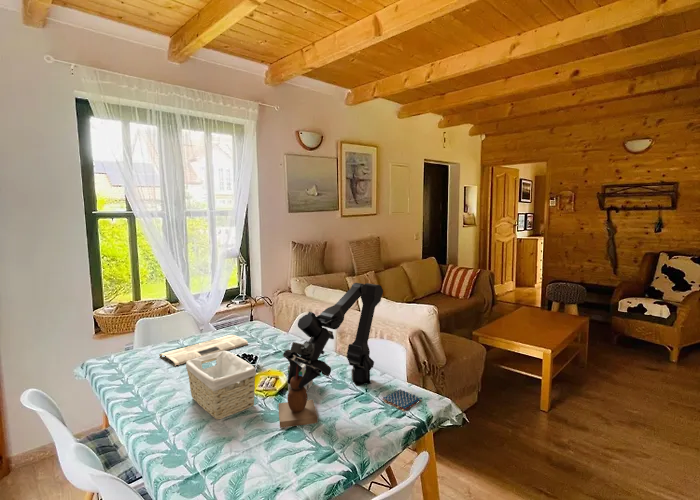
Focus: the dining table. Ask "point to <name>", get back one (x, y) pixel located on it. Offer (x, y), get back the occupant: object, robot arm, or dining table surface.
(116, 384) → the dining table surface
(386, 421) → the dining table surface
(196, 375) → the storage basket
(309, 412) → the light brown wooden stand
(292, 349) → the robot arm
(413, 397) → the woven mat
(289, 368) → the light bulb box
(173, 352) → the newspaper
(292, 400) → the wooden figurine
